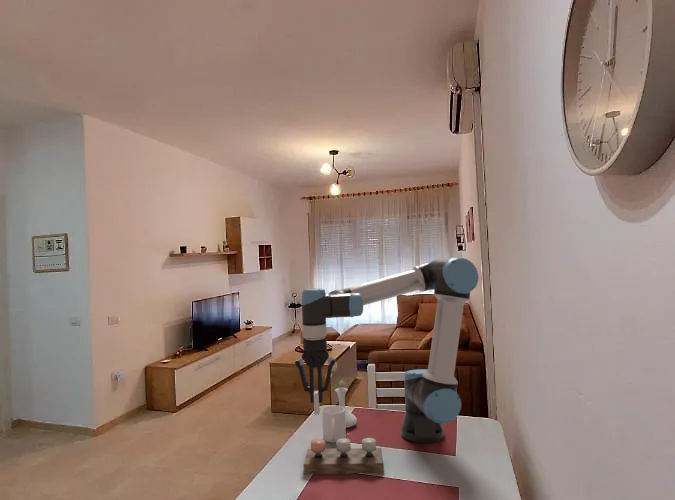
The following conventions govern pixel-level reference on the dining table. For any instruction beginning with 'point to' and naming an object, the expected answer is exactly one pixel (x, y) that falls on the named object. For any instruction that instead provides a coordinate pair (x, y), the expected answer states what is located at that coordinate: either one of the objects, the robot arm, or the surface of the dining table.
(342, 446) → the grey egg
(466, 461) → the dining table surface
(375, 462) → the cardboard egg tray
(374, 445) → the sage egg
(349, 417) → the flower in vase
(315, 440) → the orange egg
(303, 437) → the dining table surface
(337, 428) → the mug
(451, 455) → the dining table surface
